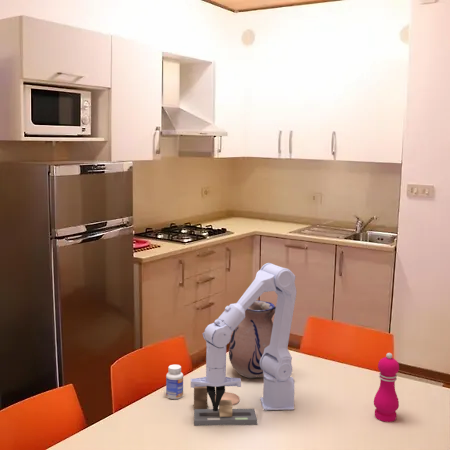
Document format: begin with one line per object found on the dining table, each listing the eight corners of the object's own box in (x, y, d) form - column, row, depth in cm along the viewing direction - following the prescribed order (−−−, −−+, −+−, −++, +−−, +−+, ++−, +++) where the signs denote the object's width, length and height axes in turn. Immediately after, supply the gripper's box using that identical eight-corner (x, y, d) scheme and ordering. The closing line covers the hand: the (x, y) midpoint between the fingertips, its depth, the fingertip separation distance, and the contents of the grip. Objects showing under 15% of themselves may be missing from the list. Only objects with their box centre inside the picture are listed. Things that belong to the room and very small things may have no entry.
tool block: (206, 404, 177) (207, 382, 176) (207, 410, 173) (207, 388, 172) (193, 404, 176) (194, 382, 175) (193, 410, 173) (194, 388, 172)
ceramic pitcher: (231, 362, 211) (233, 296, 207) (289, 366, 208) (291, 299, 204) (225, 381, 194) (226, 310, 190) (287, 386, 191) (290, 314, 187)
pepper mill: (384, 425, 166) (388, 359, 163) (367, 414, 172) (371, 350, 169) (403, 419, 169) (407, 355, 166) (385, 409, 175) (389, 347, 173)
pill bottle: (180, 400, 179) (180, 370, 177) (163, 398, 180) (164, 369, 178) (185, 393, 184) (185, 364, 183) (169, 391, 185) (169, 362, 184)
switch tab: (231, 410, 169) (231, 399, 169) (232, 416, 165) (232, 406, 165) (219, 410, 169) (219, 400, 168) (219, 416, 165) (220, 406, 164)
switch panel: (254, 413, 171) (254, 408, 171) (257, 424, 164) (257, 419, 164) (194, 413, 170) (194, 408, 170) (194, 425, 163) (194, 420, 163)
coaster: (238, 393, 185) (238, 391, 185) (240, 405, 176) (241, 404, 176) (210, 393, 184) (210, 392, 184) (211, 406, 175) (211, 404, 175)
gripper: (239, 359, 169) (238, 403, 171) (190, 360, 168) (190, 403, 170) (242, 369, 162) (241, 414, 164) (190, 369, 161) (190, 414, 163)
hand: (215, 409), depth 167 cm, fingers closed
